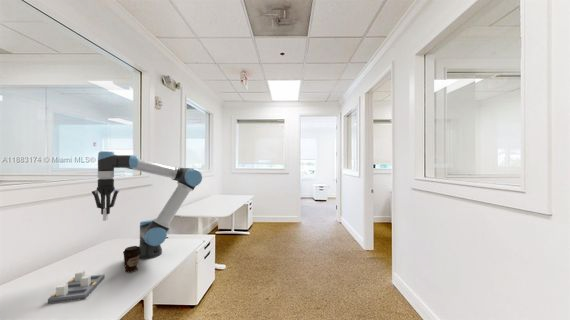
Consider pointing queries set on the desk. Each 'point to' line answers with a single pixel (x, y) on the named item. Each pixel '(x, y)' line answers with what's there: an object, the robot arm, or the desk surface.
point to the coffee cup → (131, 258)
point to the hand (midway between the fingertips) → (105, 219)
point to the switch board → (77, 290)
